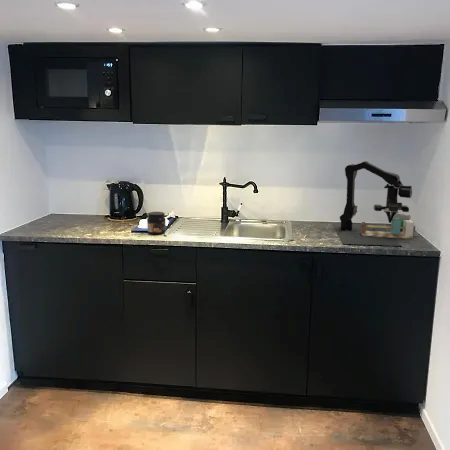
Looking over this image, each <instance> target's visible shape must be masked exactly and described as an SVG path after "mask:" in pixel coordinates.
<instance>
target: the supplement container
mask: <svg viewBox="0 0 450 450" xmlns="http://www.w3.org/2000/svg"><path fill="white" fill-rule="evenodd" d="M146 221H147V224H146V225H147V233H148V234H149V235H151V236H160V235H165V233H166V218H165V212H164V211H150V212H148V213H147V218H146Z"/></svg>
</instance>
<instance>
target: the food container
mask: <svg viewBox="0 0 450 450" xmlns="http://www.w3.org/2000/svg"><path fill="white" fill-rule="evenodd" d="M393 218H399V219H400V220H401V227H403V223H404V220H411V219H412V218H411V214H409V215H408V214H407V215H406V214H402V213H396V214H395V215H394V217H393ZM400 232H403V229H400Z"/></svg>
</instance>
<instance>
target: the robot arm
mask: <svg viewBox="0 0 450 450" xmlns="http://www.w3.org/2000/svg"><path fill="white" fill-rule="evenodd" d="M364 169H365V170H366V171H368V172H370V173H372V174H374V175H376V176H378V177H380V178H381V179H383V180H384V182H385V183H387V184H386V185H384V187H383V188H384V189H387V192H386V201H385V202H386V203H385V206H384V205H381V204H374V205H373V210H374V211H376V212H382V211H383V212H384V213H385V214H386V217H387V221H388V223H389V224H391V221H392V219H393V217H394V215H395V214H396V213H397V214H399V211H402V212H403V213H409V212H410V207H409V206H408V205H403V203H402V202H398V196H399V197H400V198H407V199H411V198H412V196H413V188H412V187H413V186H412V185H403V183H402V181H401V179H400V176H399V174H396V173H394V172H390V171H387V170H383V169H382V168H380V167H378V166H376V165H374V164H373V163H370V162H369V161H365V160H364V161H362V162H361V163H360V162H359V163H357V164H353V163H351V164H348V165H346V166H345V167H344V173H345V174H344V175H345V177H346V204H345V207H344V210H343V214H341V215H340V216H339V221H340V225H339V231H352V229H353V220H352V219H353V218H354V217H355V216H356V214H357V213H358V205H356V204H355V189H356V187H355V184H356V181H355V179H356V177H357V175H358V171H360V170H364Z"/></svg>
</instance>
